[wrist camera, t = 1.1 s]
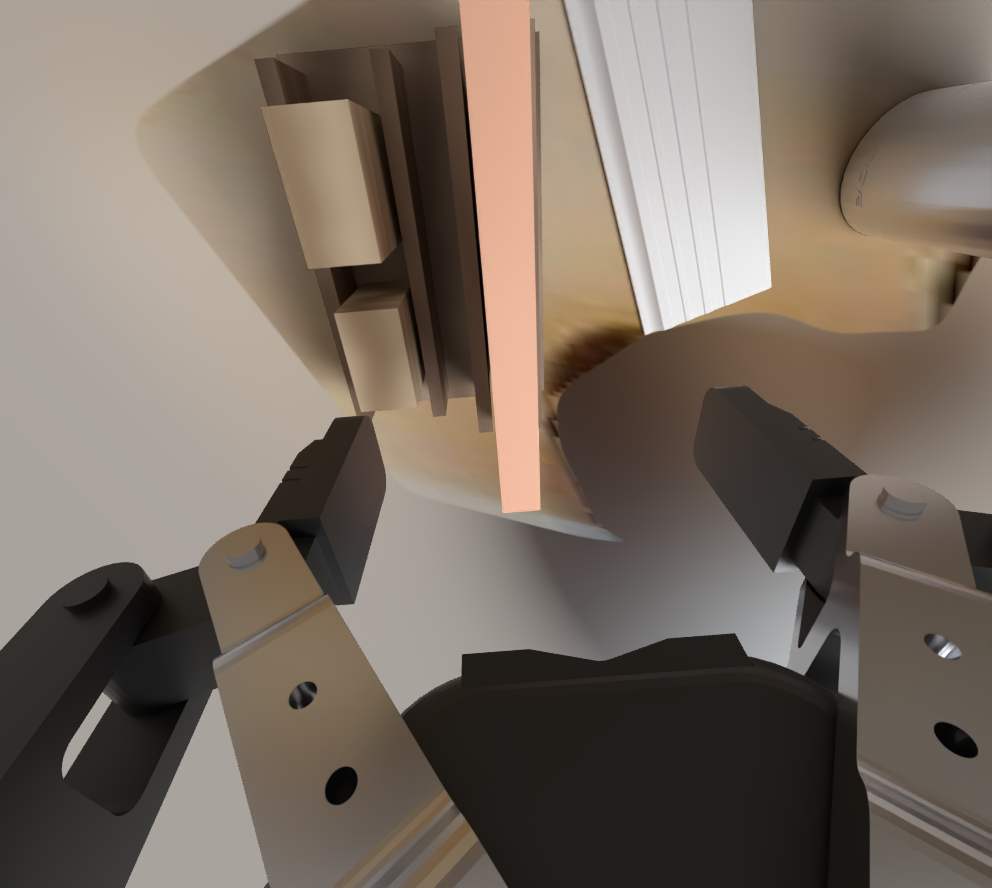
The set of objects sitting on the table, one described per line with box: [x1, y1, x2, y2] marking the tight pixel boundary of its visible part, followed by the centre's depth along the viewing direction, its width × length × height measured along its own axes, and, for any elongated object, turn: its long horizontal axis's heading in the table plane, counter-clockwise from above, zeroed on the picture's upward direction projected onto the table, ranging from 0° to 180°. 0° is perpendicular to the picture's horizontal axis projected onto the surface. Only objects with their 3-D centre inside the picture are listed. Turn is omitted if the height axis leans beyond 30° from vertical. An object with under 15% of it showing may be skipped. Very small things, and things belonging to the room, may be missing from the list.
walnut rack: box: [254, 19, 544, 433], centre depth 30 cm, size 16×24×10 cm, turn 4°
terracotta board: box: [459, 0, 540, 513], centre depth 25 cm, size 2×20×18 cm, turn 4°
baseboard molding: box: [563, 0, 771, 335], centre depth 29 cm, size 31×3×12 cm
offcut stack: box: [261, 99, 426, 412], centre depth 28 cm, size 4×17×10 cm, turn 4°
